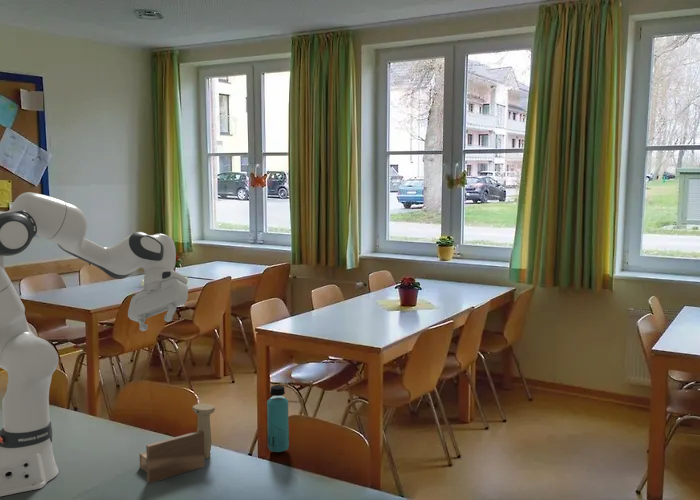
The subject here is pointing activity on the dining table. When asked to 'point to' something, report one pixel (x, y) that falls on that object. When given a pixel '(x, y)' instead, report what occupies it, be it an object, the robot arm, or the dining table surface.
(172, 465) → the wooden drawer
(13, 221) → the robot arm
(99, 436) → the dining table surface
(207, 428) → the handle
